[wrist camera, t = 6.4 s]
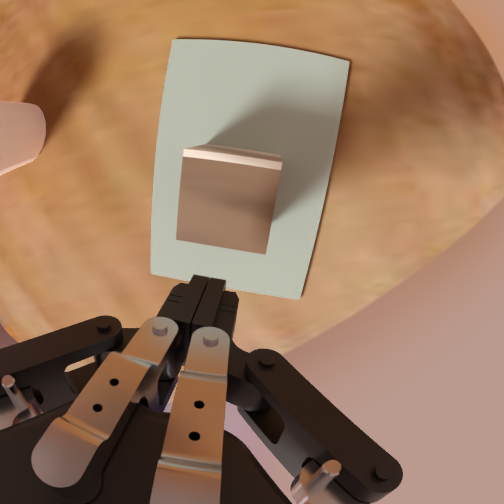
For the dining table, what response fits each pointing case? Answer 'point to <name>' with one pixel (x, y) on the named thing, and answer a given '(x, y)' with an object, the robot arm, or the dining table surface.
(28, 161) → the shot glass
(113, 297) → the dining table surface
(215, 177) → the copper block
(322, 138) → the rubber mat
